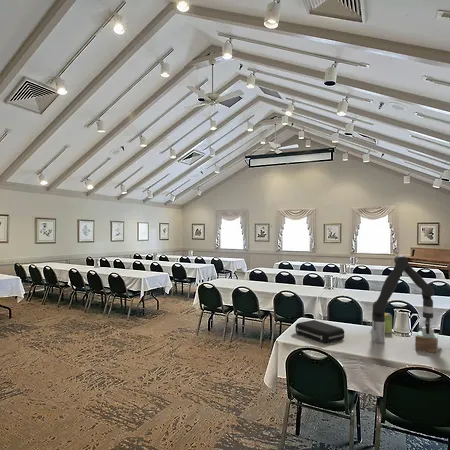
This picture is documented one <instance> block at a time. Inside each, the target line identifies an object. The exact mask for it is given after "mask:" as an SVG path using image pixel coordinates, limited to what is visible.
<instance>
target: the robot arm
mask: <svg viewBox="0 0 450 450" xmlns="http://www.w3.org/2000/svg"><path fill="white" fill-rule="evenodd" d="M393 262H394V267H393V270H392V271H391V272H390V273H389V274H388V276H386V278H385V280H384V282H383V284H382V285H381V290H380V293H379V296H378V298H377V299H376V301H373V304H372V312H373V329H372V328H371V338H370V339H371V341H372V342H374V343H376V344H384V343H385V339H386V338H385V335H386V332H385V313H386V307H387V304H388V302H389V300H390V298H391V297H392V294H393V293H394V292H395V289H396V288H397V285H398V283H399V281H400V279H401V277H402V275H403V273H405V274H406V275H407V276H408V277H409V278H410V279H411V281H413V283H414V284H415V286H416V287H418V288H420V289H421V295H422V318H423V319H424V323H425V324H424V327H426V334H429V329H430V328H431V325H432V323H431V322H432V320H431V319H434V301H433V299H432V297H433V296H434V295H435V289H434V288H433V287H432V286H431V285H430V284H429V283H428V282H426V281H425V279H424V278H423V277H422V276H421V275H420V274H419V273H418V272H417V271H416V270H415V269H414V268H413V267H412V266H411V264H409V259H408V258H407V257H406V256H405V255H401V254H399V255H395V257H394V260H393Z"/></svg>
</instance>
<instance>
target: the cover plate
mask: <svg viewBox="0 0 450 450" xmlns="http://www.w3.org/2000/svg"><path fill="white" fill-rule="evenodd" d="M416 336H421V337H427V338H433V339H439V333H435V328H432V327H430V329H429V334H426V327H425V326H422V327H421V330H418V332H417V334H416Z"/></svg>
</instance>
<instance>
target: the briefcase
mask: <svg viewBox="0 0 450 450" xmlns="http://www.w3.org/2000/svg"><path fill="white" fill-rule="evenodd" d="M295 333H296V334H298V335H300V336H301V337H305V338H309V339H311V340H313V341H317V342H319V343H322V344H324V345H325V344H330V343H334V342H339V341H342V340H343V339H345V330H344V328H342V327H339V326H336V325H332V324H330V323H329V324H328V323H327V322H326V323H325V322H322V321H318V320H314V319H313V320H306V321H302V322H301V321H300V322H297V323H296V324H295Z"/></svg>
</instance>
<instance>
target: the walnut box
mask: <svg viewBox="0 0 450 450" xmlns="http://www.w3.org/2000/svg"><path fill="white" fill-rule="evenodd" d="M438 339H439V338H438ZM438 339H433V338H427V337H421V336H417V335H415V339H414V341H415V342H414V343H415V348H414V349H415V350H416V351H420V352H426V353H430V354H431V353H432V354H437V352H438V349H439V347H438V346H439V344H438V343H439V340H438Z"/></svg>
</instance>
